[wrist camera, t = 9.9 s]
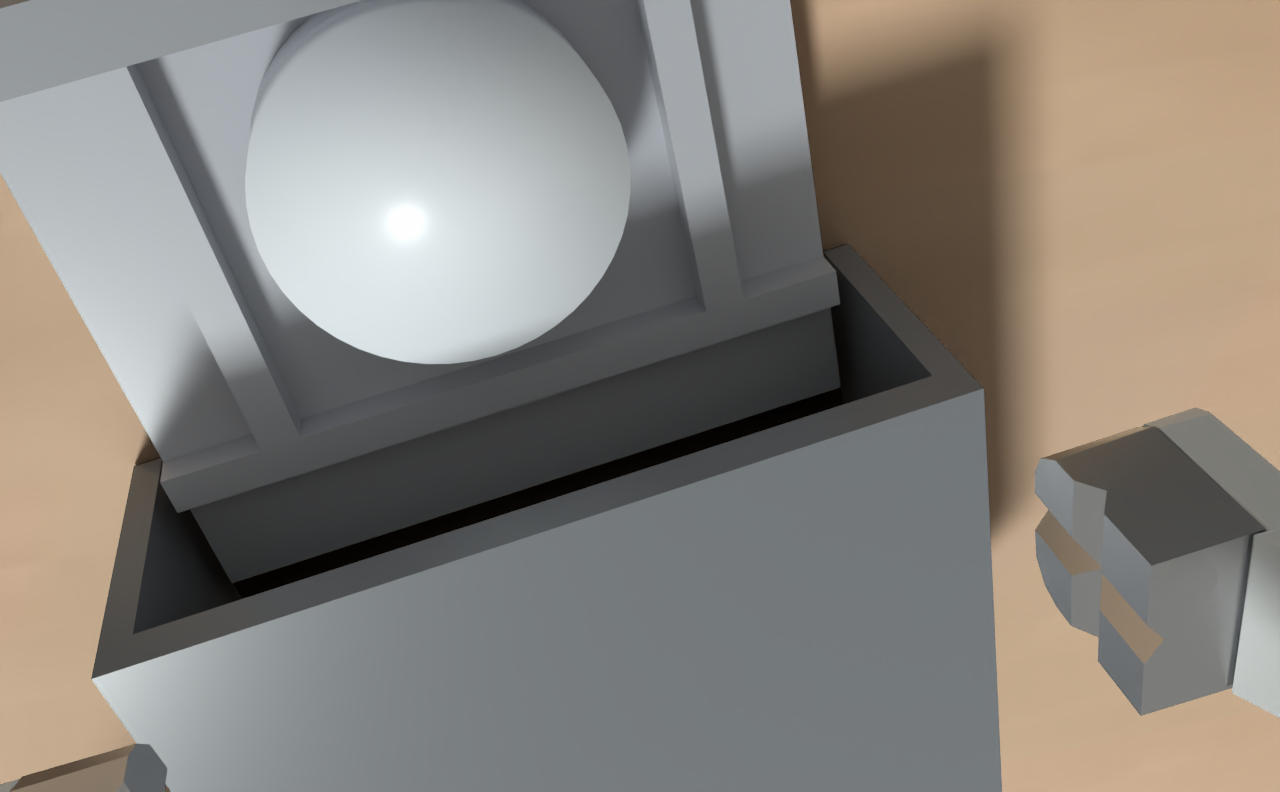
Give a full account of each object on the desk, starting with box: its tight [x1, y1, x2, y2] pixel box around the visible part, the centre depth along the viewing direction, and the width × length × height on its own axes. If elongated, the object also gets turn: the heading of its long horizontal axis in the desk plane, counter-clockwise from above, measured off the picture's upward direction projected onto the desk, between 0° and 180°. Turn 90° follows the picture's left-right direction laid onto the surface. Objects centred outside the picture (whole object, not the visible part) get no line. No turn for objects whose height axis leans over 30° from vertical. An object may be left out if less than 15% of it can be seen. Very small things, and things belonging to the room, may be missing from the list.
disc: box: [245, 0, 631, 364], centre depth 21 cm, size 6×6×2 cm
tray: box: [0, 0, 841, 583], centre depth 20 cm, size 16×13×6 cm
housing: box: [91, 244, 1002, 792], centre depth 26 cm, size 16×13×6 cm
